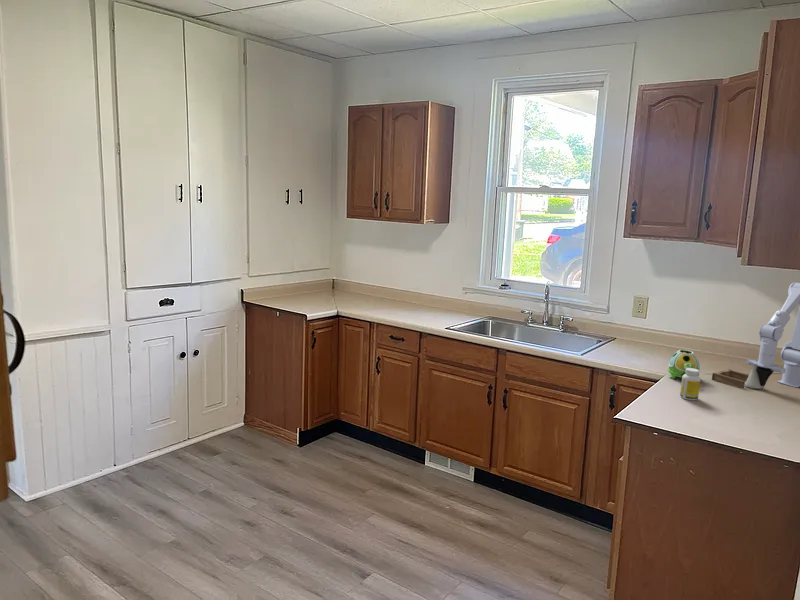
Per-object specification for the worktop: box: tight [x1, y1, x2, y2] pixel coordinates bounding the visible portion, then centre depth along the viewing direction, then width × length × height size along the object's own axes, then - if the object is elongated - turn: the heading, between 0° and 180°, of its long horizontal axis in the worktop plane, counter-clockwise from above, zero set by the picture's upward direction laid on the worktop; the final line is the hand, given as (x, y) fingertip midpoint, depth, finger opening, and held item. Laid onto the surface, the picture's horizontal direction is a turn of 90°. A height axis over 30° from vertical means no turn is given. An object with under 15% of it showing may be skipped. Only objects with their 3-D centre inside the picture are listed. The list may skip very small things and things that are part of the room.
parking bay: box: [711, 368, 749, 390], centre depth 255 cm, size 13×13×3 cm
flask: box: [744, 363, 765, 389], centre depth 248 cm, size 7×7×10 cm
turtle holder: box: [667, 349, 701, 380], centre depth 255 cm, size 12×18×12 cm
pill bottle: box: [679, 368, 701, 401], centre depth 231 cm, size 6×6×12 cm
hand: (762, 385), depth 246 cm, fingers closed, pressing on flask
